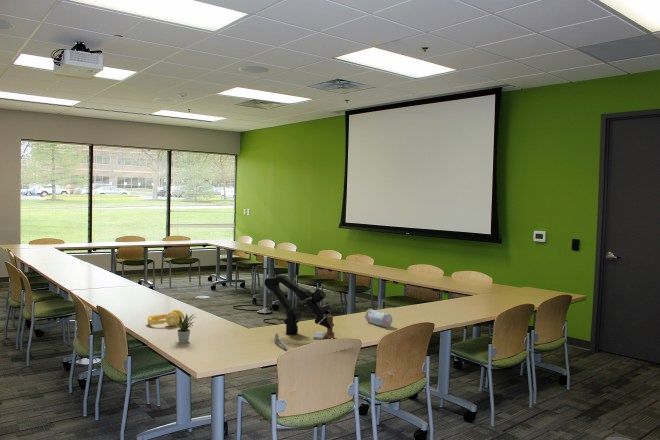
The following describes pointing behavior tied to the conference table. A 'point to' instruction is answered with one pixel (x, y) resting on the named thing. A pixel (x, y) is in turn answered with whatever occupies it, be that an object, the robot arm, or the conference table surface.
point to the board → (319, 335)
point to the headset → (169, 318)
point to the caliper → (280, 342)
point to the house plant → (184, 328)
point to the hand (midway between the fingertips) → (332, 327)
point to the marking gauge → (329, 332)
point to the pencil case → (378, 318)
